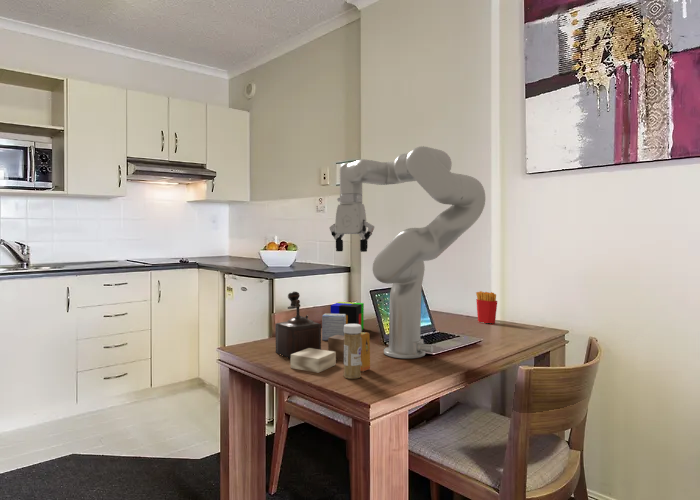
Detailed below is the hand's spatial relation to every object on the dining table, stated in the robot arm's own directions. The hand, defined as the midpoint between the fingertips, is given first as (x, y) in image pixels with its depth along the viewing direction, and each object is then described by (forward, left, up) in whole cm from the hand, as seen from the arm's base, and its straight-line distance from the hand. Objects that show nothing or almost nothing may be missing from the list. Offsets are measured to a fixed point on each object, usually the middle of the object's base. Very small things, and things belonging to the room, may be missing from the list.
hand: (351, 251), depth 164 cm
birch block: (-6, +31, -31) cm, 44 cm away
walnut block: (-7, +19, -31) cm, 37 cm away
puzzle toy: (+11, -17, -31) cm, 37 cm away
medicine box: (+7, -1, -31) cm, 32 cm away
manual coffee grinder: (+8, +21, -31) cm, 38 cm away
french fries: (-30, -61, -31) cm, 74 cm away
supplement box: (-19, +27, -31) cm, 45 cm away
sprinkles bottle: (-20, +34, -31) cm, 50 cm away
